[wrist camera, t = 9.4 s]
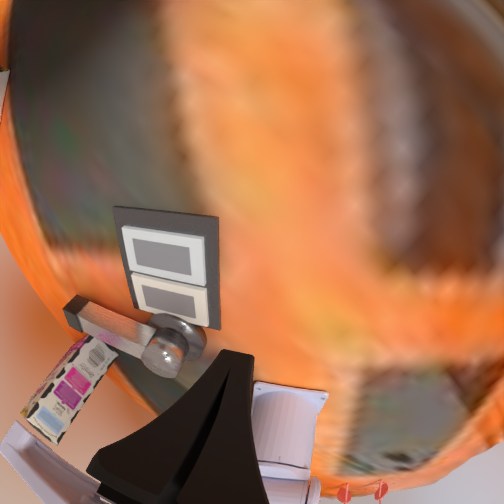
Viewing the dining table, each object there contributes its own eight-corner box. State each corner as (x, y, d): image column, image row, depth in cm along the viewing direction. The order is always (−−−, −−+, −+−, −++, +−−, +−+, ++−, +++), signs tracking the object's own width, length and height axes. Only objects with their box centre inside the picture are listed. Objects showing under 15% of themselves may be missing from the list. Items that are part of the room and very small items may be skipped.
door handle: (189, 336, 23) (175, 361, 20) (189, 359, 25) (178, 382, 22) (75, 290, 24) (58, 307, 22) (83, 314, 26) (68, 331, 24)
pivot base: (208, 357, 26) (204, 366, 25) (157, 343, 27) (152, 350, 26) (204, 316, 23) (199, 325, 22) (146, 302, 24) (140, 309, 23)
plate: (221, 328, 23) (220, 330, 23) (136, 306, 25) (134, 308, 25) (218, 216, 18) (217, 218, 18) (114, 205, 20) (112, 207, 19)
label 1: (206, 283, 21) (204, 286, 20) (132, 267, 22) (129, 270, 22) (204, 236, 19) (201, 239, 18) (124, 225, 20) (121, 227, 20)
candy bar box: (93, 326, 30) (23, 419, 16) (120, 353, 31) (59, 448, 17) (72, 342, 35) (18, 413, 21) (93, 363, 36) (44, 436, 22)
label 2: (209, 324, 23) (207, 327, 23) (141, 306, 24) (139, 309, 24) (206, 288, 21) (204, 291, 21) (133, 272, 22) (130, 275, 22)
